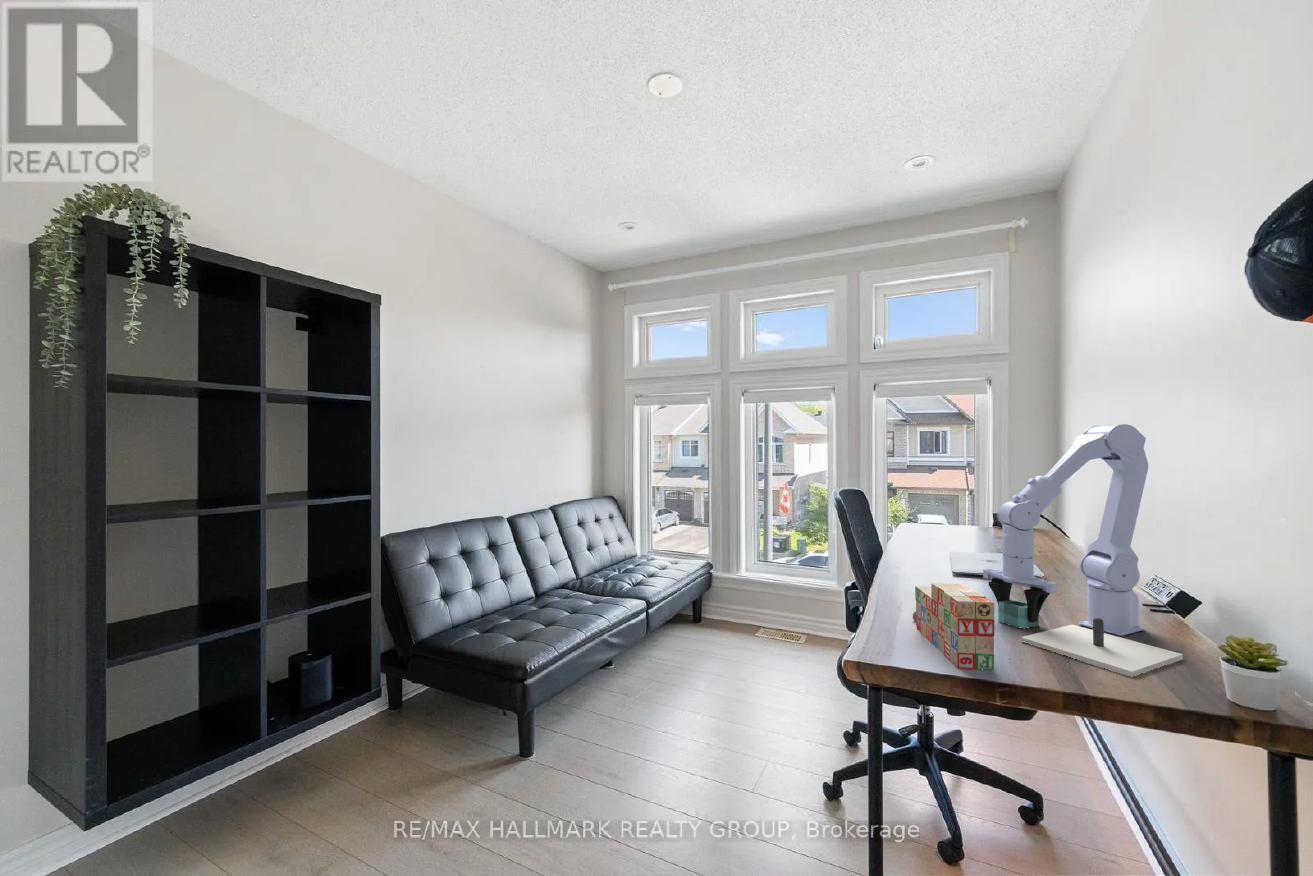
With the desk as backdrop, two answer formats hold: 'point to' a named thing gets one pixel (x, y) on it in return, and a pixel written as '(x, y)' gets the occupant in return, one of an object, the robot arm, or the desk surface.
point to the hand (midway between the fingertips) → (1018, 617)
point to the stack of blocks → (957, 624)
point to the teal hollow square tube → (1015, 613)
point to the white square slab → (1103, 649)
